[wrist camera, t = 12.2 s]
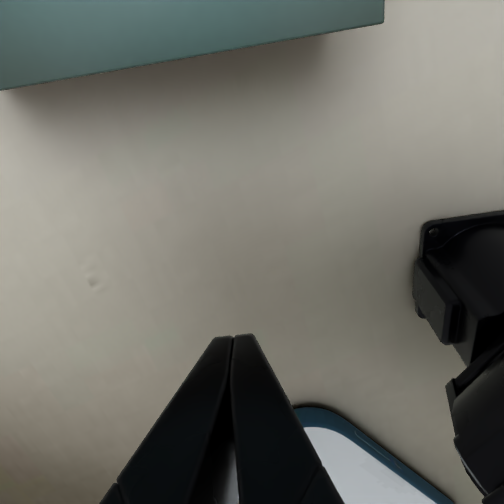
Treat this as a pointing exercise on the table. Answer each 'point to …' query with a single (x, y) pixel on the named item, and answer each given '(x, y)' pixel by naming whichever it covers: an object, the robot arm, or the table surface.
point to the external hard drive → (363, 464)
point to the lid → (154, 31)
